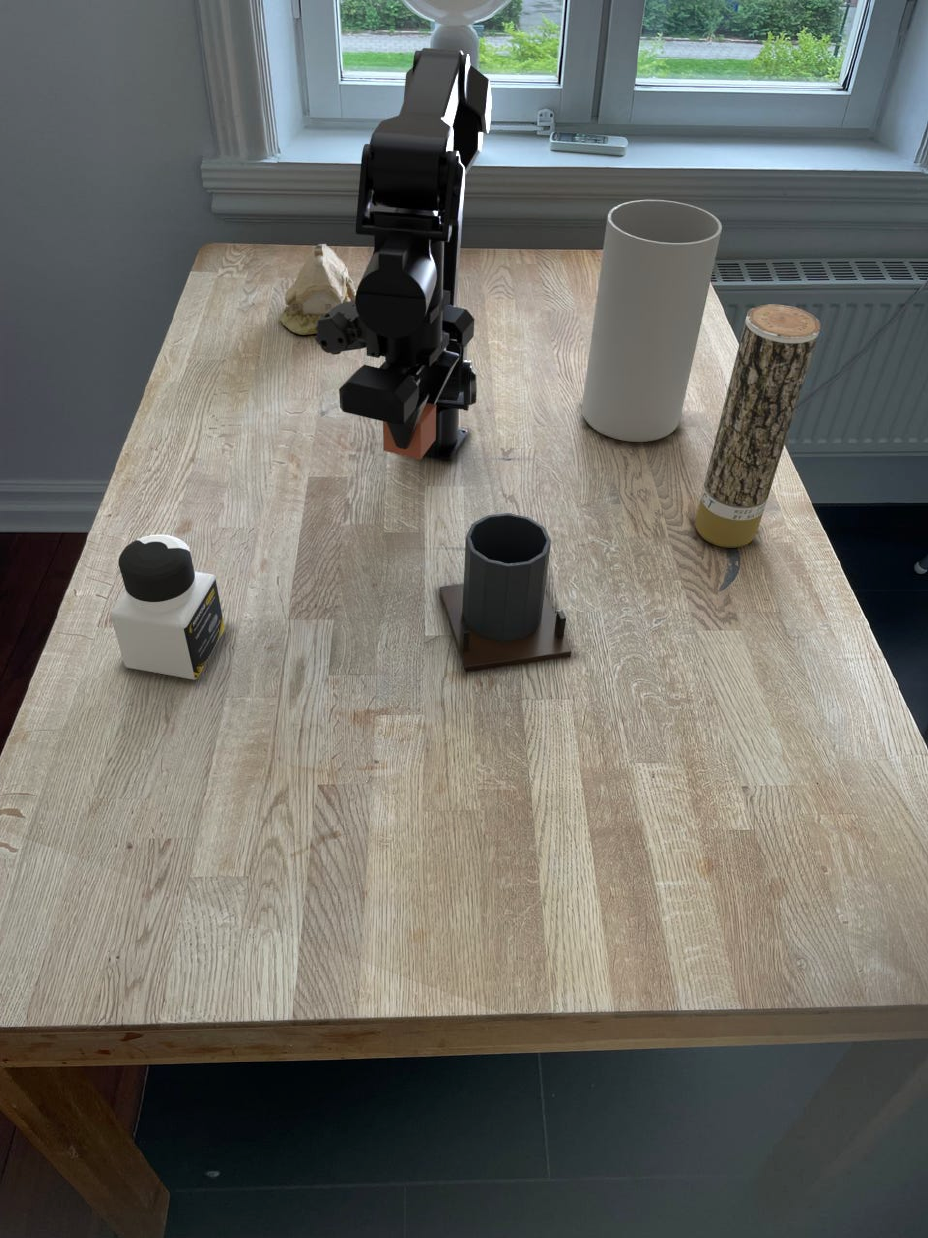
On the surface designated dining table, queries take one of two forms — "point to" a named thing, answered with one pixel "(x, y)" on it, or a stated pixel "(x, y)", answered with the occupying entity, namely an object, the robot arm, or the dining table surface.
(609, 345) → the cylinder vase
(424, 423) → the block
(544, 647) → the brown pegged stand
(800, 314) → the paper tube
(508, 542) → the bin
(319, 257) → the ceramic model
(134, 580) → the medicine bottle
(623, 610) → the dining table surface
